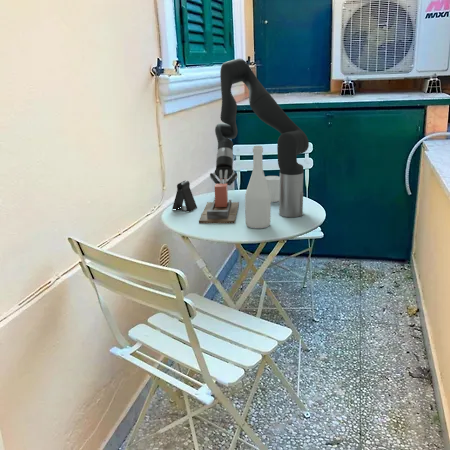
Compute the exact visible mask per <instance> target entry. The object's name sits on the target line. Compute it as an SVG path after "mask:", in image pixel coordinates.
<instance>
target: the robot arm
mask: <svg viewBox="0 0 450 450" xmlns="http://www.w3.org/2000/svg"><path fill="white" fill-rule="evenodd" d="M219 72H220V73H219V74H220V75H219V77H220V91H221V108H220V121H221V122H218V123H217V124H216V125H215V129H214V132H215V136H216V140H217V154H216V162H215V163H216V164H215V169H214V171H213V173H212V172H210V174H209V177H210V179H211V180H212V181H213V182H214V183H215V184H227V186H231V185H232V184H233V183H234V182H235V181H236V180H237V178H238V173H237V172H236V173H235V172H234V170H233V167H234V166H233V165H234V164H233V163H234V143H233V141H232V140H233V139H235V138H236V137H237V135H238V125H237V122H236V120H237V119H236V118H237V111H238V110H237V109H238V105H237V101H236V99H235V97H234V95H233V93H232V87H233V85H234V84H238V83H243V84H245V86H246V88H247V89H248V101H249V106H250V108H251V110H252V111H253V112H254V114H255V115H256V116H257V117H258V118H259V120H261V122H264V123H265V124H266V125H268V126H270V127H272V128H273V129H275V130H276V131H278V133H280V135H279V137H278V139H277V147H276V148H277V165H278V168H279V177H280V192H279V201H278V202H279V203H278V205H279V206H278V210H279V211H278V215H280V216H281V217H285V218H297V217H303V210H304V207H303V206H304V165H303V164H301V163H298V158H297V155H302V154H304V153H306V152H307V151H308V149H309V146H310V145H309V144H310V143H309V138H308V136H307V134H306V133H305V132H304V131H303V130H302V129H301V128H300V127H299V126H298V125H297V124H296V123H295V122H294V121H293V120H292V119H291V118H290V117H289V116H288V114H287V113H286V112H285V111H284V109H282V107H281V105H279V104H278V102H277V101H276V100H275V99H274V98H273V96H271V94H270V93H269V92H268V90H266V88H265V86H264V85H263V84H262V83H261V82H260V80H259V79H258V77H257V76H256V74H255V73H254V71H253V70H252V69H251V67H250V65H249V64H248V62H247V61H246V60H245V59H243V58H236V59H232V60H228V61H225V62H223V63H222V64H221V66H220V71H219ZM217 178H218V179H217Z"/></svg>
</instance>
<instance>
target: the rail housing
mask: <svg viewBox="0 0 450 450" xmlns="http://www.w3.org/2000/svg"><path fill="white" fill-rule="evenodd" d="M239 203H240V202H238V201H235V202H233V200H232V199H228V205H227V207H215V199H213V200H212V201H211V202H209V201H208V202H206V203H205V206H204V208H203V211H202V213H201V215H200V216H199V219H198V224H235V223H236V219H237V215H238V210H239V205H240V204H239Z"/></svg>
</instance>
